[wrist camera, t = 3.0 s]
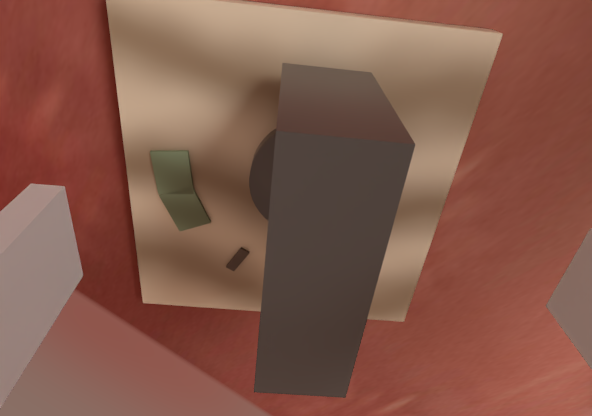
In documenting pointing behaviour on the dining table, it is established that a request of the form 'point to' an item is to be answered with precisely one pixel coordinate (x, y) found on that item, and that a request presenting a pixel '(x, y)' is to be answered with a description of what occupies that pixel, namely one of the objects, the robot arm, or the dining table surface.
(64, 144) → the dining table surface
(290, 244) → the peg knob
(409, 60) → the board
